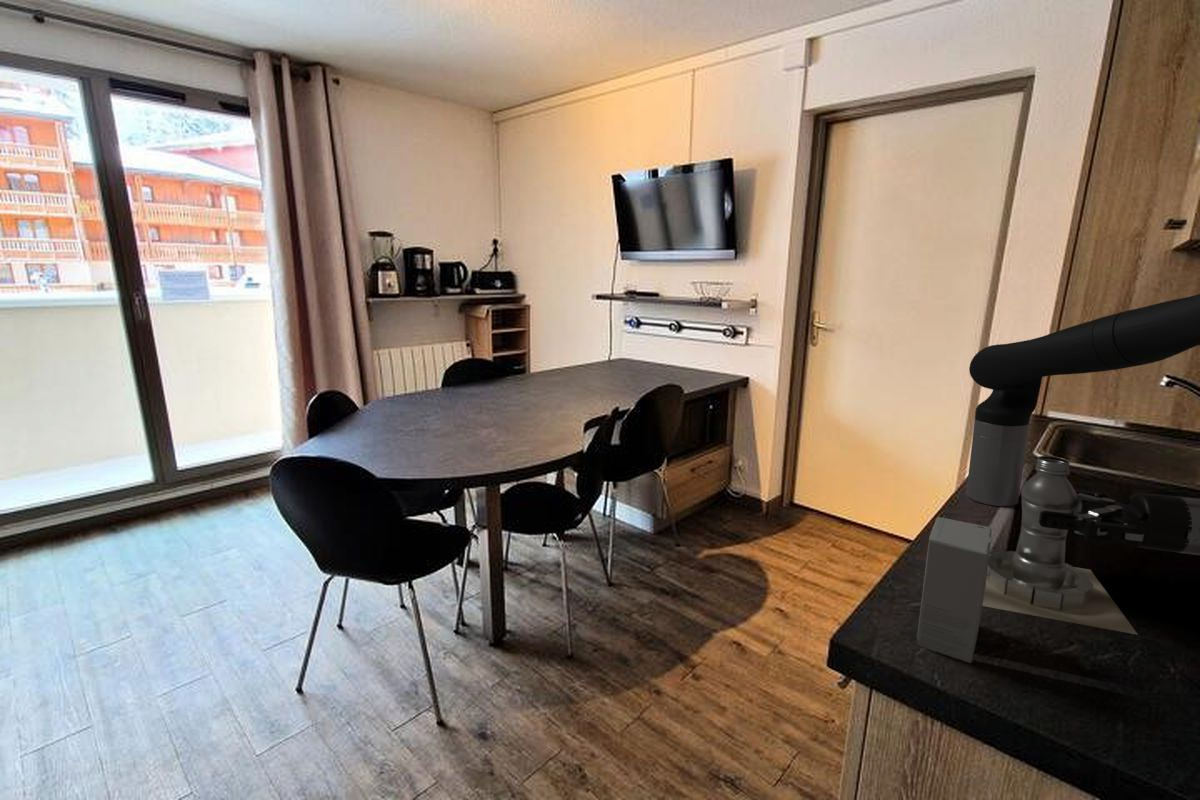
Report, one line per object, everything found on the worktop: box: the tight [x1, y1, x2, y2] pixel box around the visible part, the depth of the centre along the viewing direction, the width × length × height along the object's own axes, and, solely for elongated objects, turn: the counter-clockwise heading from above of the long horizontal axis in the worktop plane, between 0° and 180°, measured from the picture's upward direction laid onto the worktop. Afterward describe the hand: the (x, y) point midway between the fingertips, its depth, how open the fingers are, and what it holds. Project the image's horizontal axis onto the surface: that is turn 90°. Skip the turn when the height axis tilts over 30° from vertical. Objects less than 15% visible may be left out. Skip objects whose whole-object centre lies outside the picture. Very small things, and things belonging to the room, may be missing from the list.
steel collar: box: [986, 550, 1093, 610], centre depth 84 cm, size 12×12×2 cm
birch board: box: [982, 553, 1139, 636], centre depth 84 cm, size 18×18×1 cm
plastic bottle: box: [1011, 455, 1078, 589], centre depth 82 cm, size 6×7×20 cm
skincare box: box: [915, 516, 993, 664], centre depth 72 cm, size 8×7×16 cm
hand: (1032, 507), depth 82 cm, fingers open, 8 cm apart
